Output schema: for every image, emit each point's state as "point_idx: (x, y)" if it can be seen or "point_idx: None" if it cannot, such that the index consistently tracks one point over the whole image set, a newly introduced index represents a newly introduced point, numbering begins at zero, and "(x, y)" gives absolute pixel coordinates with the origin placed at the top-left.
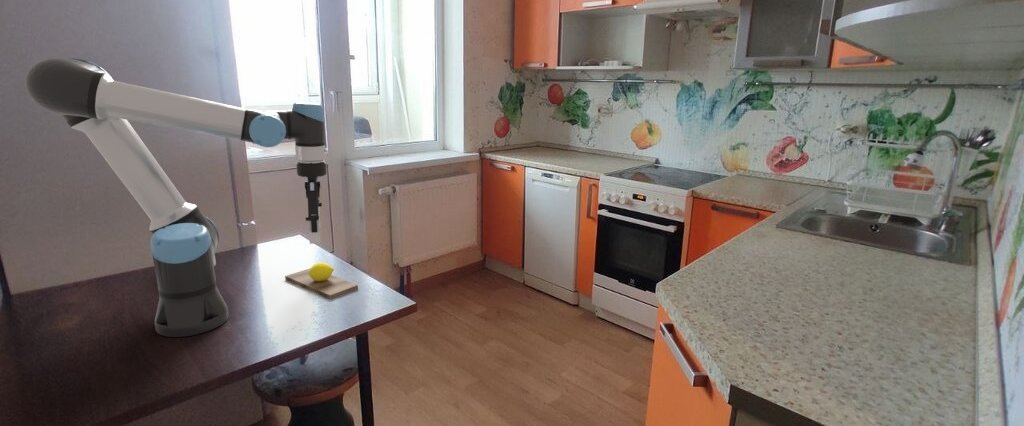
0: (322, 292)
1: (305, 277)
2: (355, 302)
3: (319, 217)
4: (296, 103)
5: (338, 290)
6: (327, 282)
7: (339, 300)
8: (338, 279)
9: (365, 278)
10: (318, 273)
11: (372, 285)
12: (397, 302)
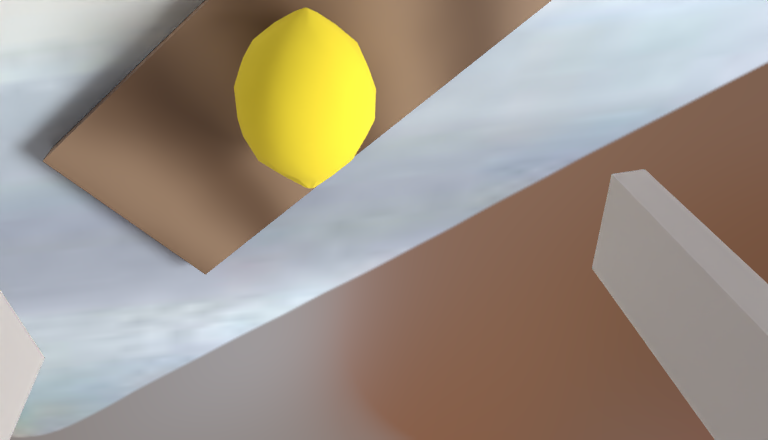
0: (94, 109)
1: None
2: (24, 268)
3: (679, 384)
4: None
5: (124, 195)
6: None
7: (43, 194)
8: None
9: (354, 274)
10: (237, 101)
11: (253, 310)
12: (45, 408)
